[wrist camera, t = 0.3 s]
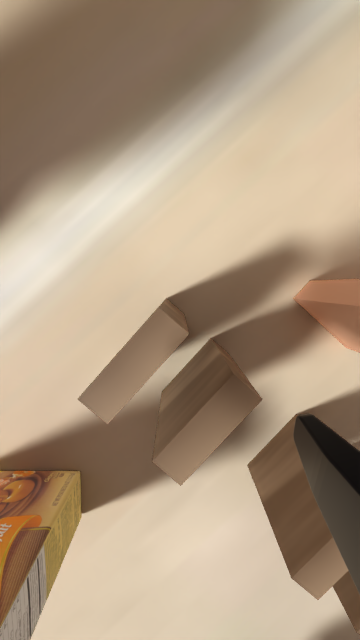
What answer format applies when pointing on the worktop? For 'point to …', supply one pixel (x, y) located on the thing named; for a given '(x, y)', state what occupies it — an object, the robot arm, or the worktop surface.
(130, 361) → the domino
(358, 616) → the domino
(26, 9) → the worktop surface
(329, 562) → the domino
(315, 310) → the domino
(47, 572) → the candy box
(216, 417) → the domino
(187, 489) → the worktop surface
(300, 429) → the robot arm
